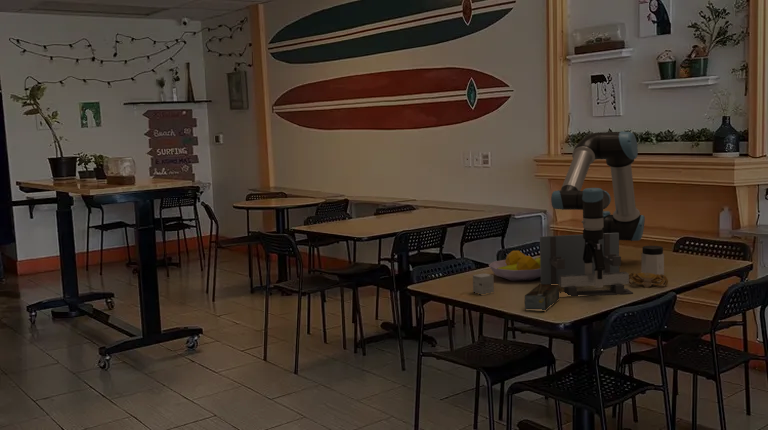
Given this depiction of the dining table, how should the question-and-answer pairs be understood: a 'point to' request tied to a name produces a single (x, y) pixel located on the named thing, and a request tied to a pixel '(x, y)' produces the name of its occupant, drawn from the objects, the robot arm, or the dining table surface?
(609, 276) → the rail
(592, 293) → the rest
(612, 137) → the robot arm
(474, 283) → the skincare box
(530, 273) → the fruit bowl
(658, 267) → the jar
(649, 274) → the crab model
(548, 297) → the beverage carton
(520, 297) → the dining table surface
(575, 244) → the panel
